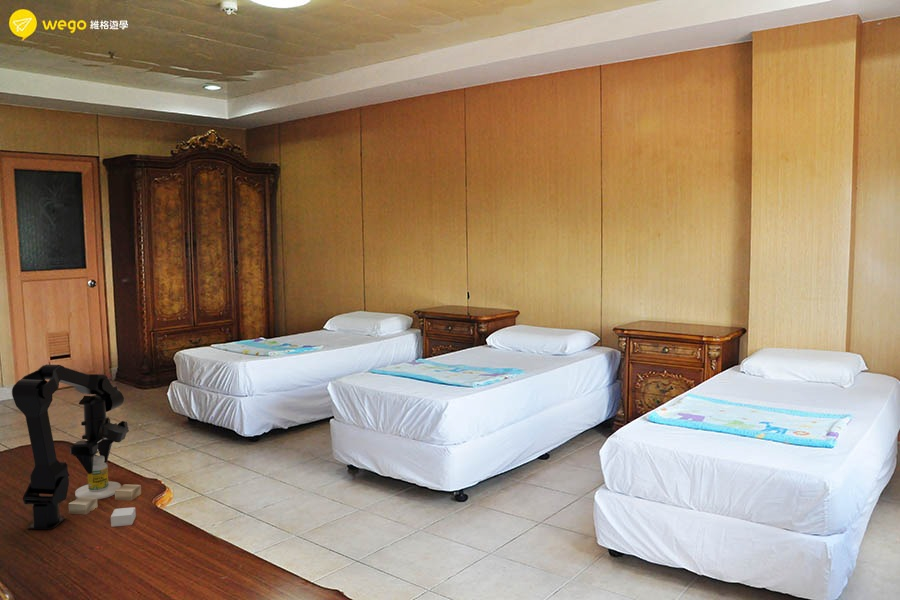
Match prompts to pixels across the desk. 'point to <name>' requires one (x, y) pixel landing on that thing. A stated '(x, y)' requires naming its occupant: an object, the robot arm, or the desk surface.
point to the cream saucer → (106, 493)
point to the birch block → (82, 505)
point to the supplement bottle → (98, 475)
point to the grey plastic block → (123, 517)
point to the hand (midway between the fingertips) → (97, 467)
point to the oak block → (127, 492)
